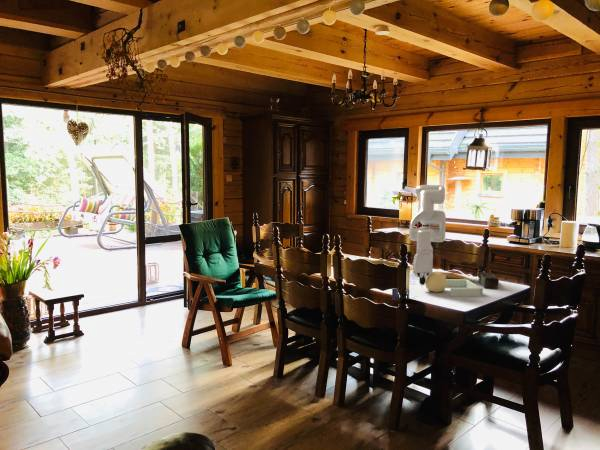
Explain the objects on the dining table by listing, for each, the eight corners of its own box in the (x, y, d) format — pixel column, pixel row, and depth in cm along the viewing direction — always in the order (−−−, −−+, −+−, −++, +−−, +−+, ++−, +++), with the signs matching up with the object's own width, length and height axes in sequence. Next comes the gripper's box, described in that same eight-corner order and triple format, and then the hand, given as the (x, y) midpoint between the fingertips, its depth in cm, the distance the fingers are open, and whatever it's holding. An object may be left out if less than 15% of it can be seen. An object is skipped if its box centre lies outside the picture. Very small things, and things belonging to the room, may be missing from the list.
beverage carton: (492, 282, 297) (493, 271, 296) (498, 289, 278) (499, 278, 277) (478, 281, 298) (479, 271, 297) (484, 289, 279) (484, 277, 279)
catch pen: (437, 286, 285) (438, 279, 284) (466, 286, 285) (466, 279, 285) (451, 296, 262) (451, 288, 262) (482, 295, 263) (482, 288, 263)
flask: (408, 298, 257) (408, 278, 256) (410, 299, 254) (410, 279, 253) (391, 298, 256) (391, 278, 255) (392, 300, 254) (393, 280, 252)
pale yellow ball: (446, 289, 277) (447, 270, 276) (446, 294, 266) (446, 275, 265) (425, 287, 281) (426, 269, 279) (424, 292, 269) (425, 273, 268)
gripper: (434, 251, 274) (433, 283, 276) (408, 251, 274) (407, 282, 276) (438, 253, 267) (437, 286, 269) (411, 253, 266) (410, 285, 268)
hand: (422, 284), depth 272 cm, fingers closed
